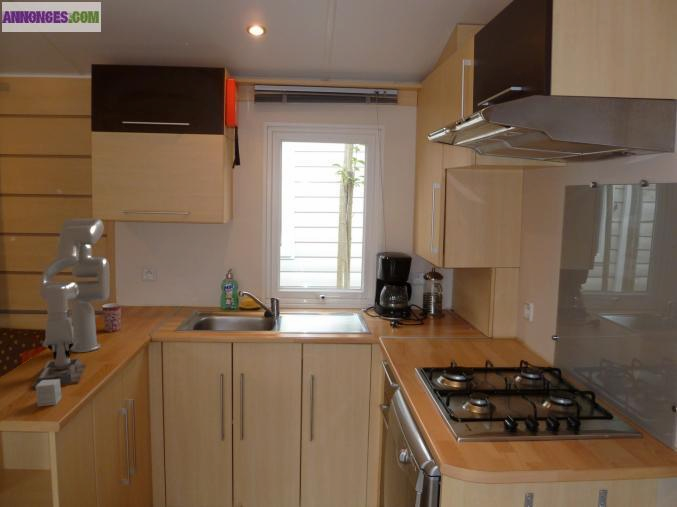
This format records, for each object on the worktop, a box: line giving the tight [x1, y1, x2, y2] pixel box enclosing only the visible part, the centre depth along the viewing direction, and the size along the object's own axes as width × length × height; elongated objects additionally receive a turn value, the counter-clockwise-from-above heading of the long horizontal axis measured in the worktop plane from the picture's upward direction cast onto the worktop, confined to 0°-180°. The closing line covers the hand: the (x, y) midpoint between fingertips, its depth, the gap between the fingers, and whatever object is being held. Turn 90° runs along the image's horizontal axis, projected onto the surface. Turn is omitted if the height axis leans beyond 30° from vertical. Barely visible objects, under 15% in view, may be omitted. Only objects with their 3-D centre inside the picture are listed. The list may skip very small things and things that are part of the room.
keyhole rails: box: [39, 357, 82, 383], centre depth 215 cm, size 22×12×2 cm, turn 18°
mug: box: [101, 302, 122, 333], centre depth 284 cm, size 13×9×14 cm
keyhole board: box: [30, 362, 87, 390], centre depth 215 cm, size 22×16×1 cm
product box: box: [35, 379, 62, 407], centre depth 189 cm, size 6×6×7 cm
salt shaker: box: [53, 341, 71, 370], centre depth 220 cm, size 6×6×13 cm
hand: (62, 359), depth 221 cm, fingers closed on salt shaker, 3 cm apart
